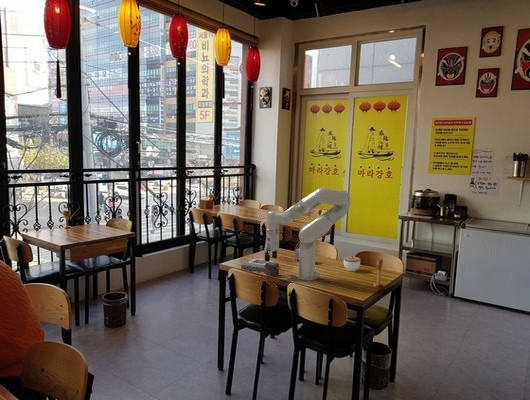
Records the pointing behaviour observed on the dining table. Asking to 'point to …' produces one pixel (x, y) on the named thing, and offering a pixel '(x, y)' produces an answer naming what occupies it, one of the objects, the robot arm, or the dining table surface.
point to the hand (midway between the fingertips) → (270, 259)
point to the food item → (297, 254)
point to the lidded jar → (351, 263)
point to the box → (272, 269)
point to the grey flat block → (255, 265)
